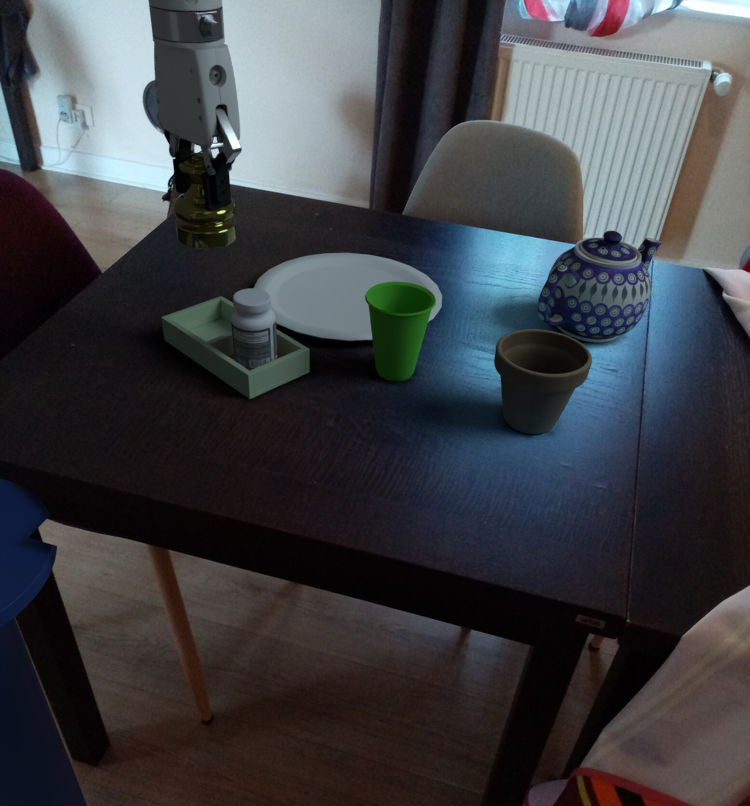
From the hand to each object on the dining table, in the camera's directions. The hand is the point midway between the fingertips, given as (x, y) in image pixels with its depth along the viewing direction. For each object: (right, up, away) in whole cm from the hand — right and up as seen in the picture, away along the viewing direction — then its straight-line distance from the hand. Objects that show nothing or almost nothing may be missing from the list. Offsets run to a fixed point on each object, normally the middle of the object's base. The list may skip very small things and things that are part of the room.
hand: (203, 196), depth 94 cm
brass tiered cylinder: (0, -4, +3) cm, 5 cm away
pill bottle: (+5, -19, +10) cm, 22 cm away
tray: (+2, -17, +13) cm, 21 cm away
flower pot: (+40, -26, +5) cm, 48 cm away
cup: (+23, -19, +12) cm, 33 cm away
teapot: (+53, -10, +25) cm, 60 cm away
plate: (+17, -6, +27) cm, 32 cm away
